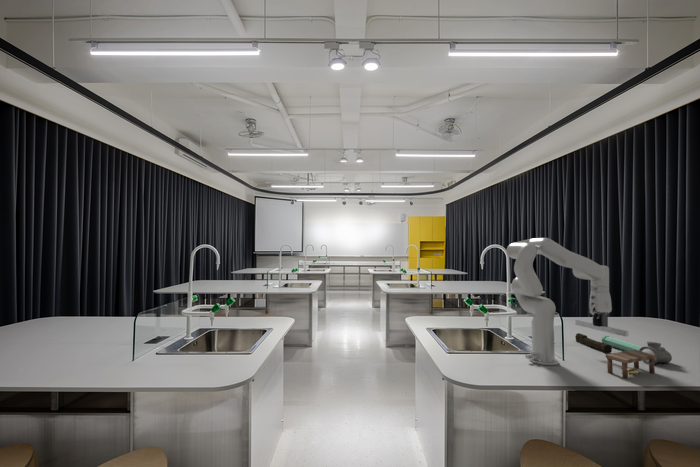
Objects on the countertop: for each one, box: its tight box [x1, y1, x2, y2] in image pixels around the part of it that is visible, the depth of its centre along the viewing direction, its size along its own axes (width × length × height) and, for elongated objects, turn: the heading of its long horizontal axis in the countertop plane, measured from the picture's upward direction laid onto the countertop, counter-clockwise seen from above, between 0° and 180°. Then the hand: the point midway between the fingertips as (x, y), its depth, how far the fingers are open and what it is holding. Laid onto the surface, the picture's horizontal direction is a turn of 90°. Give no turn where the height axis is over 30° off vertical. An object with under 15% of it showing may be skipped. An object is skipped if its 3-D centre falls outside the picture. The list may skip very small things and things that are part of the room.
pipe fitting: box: [639, 341, 673, 365], centre depth 158 cm, size 12×8×10 cm
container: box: [601, 335, 643, 352], centre depth 175 cm, size 6×6×25 cm
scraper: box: [575, 313, 629, 338], centre depth 165 cm, size 4×24×8 cm, turn 19°
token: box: [628, 366, 639, 376], centre depth 146 cm, size 5×5×2 cm
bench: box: [605, 350, 655, 380], centre depth 146 cm, size 20×8×8 cm, turn 109°
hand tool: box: [575, 332, 613, 354], centre depth 183 cm, size 23×5×6 cm, turn 1°
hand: (600, 325), depth 165 cm, fingers closed on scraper, 3 cm apart
